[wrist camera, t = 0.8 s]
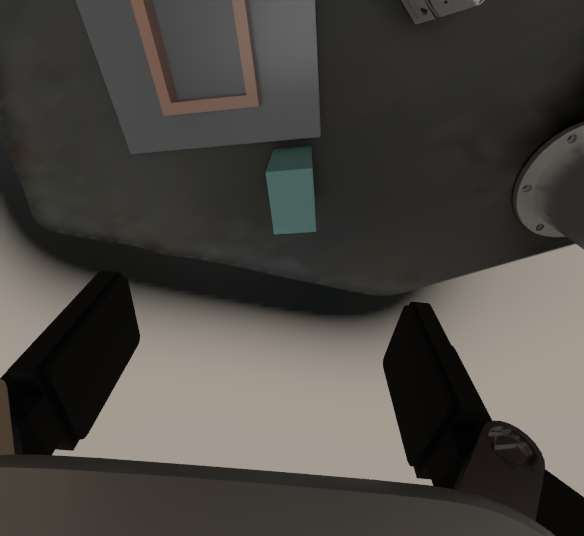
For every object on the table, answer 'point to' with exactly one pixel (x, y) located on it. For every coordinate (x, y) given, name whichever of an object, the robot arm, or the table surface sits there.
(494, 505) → the robot arm
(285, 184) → the block
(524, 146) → the table surface
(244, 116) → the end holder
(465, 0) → the ink box
